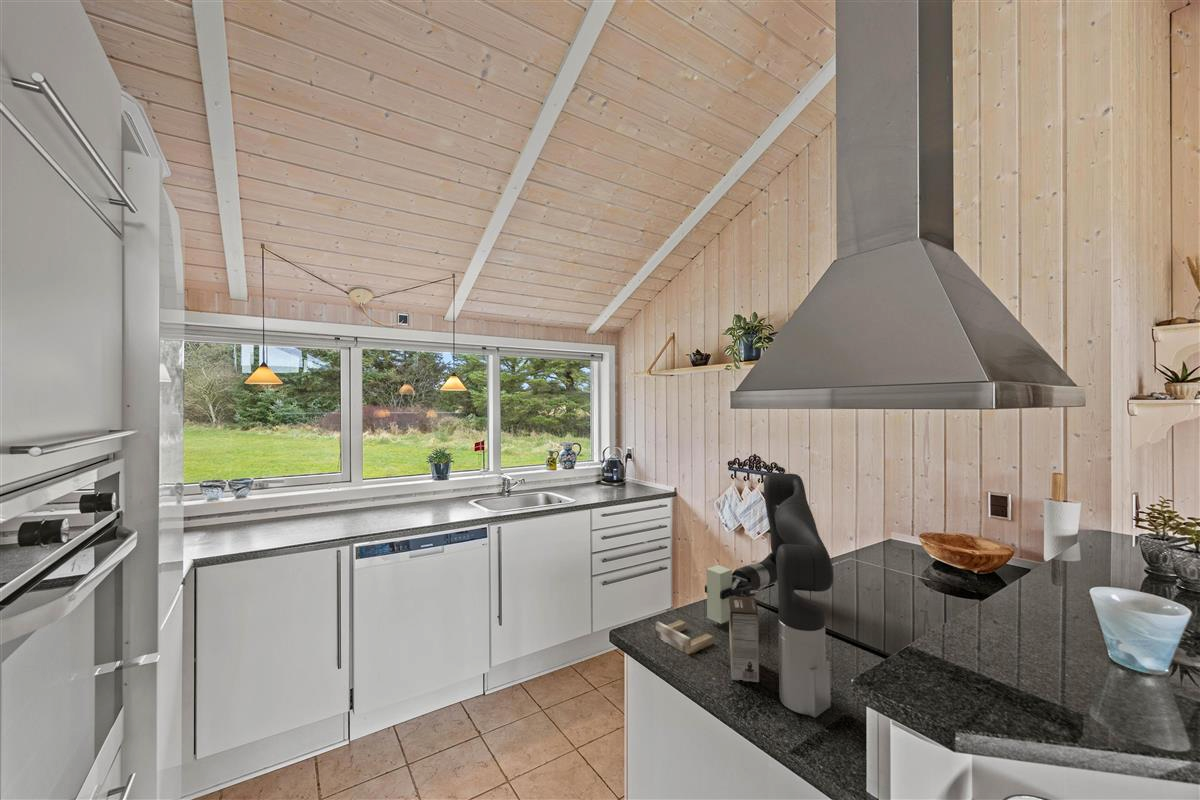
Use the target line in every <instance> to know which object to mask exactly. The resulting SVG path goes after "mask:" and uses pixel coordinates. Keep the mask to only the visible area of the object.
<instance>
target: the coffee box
mask: <svg viewBox="0 0 1200 800" xmlns="http://www.w3.org/2000/svg"><path fill="white" fill-rule="evenodd" d="M758 609H759V608H758V604H757V599H756V597H755V596H751V597H737V596H729V621H728V622H729V624H728V625H729V626H728V627H729V628H728V629H729V631H728V632H729V634H728V636H729V661H730V673H731V674H730V675H731V680H733V681H739V680H743V681H742V682H750V681H751V682H753V683H760V650H759V648H760V646H759V645H760V643H759V642H760V638H759V636H760V635H759V634H760V633H759V632H760V629H759V627H760V626H759V625H760V624H759V622H760V621H759V620H760V618H759V616H760V615H759V610H758ZM751 682H750V683H751Z"/></svg>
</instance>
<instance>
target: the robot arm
mask: <svg viewBox="0 0 1200 800" xmlns="http://www.w3.org/2000/svg"><path fill="white" fill-rule="evenodd" d="M803 481H804V480H803V479H802V477H801V476H800V475H799V474H796V473H769V474H766V475H765V476H764V480H763V496H764V503H765V510H766V515H767V520H768V524H769V525H768V526H769V532H770V533H769V534H770V551H771V552H770V553H769V554H768V555H767V556H766V557H765V558H763V560H761V561H759V562H757V563H750V564H748V565H744V566H742V567H739V568H737V569H735V570H734V571H732V587H731V588H728V589H725V590H722V591H721V592H720V599H722V600H723V599H726V598H729V596H736V597H755V596H756V592H758V591H761V590H762V589H764V588H765V587H768V586H770V585H772V584H774V583H776V582H777V591H778V592H777V593H778V594H777V595H778V598H777V599H778V611H777V612H778V614H777V616H778V617H777V618H778V683H779V684H778V688H779V690H778V691H779V692H778V693H779V700H780V702H781V704H782V705H784V706H785V707H786V708H787V709H789V710H791V711H792V712H795V713H797V714H801V715H807V716H810V717H813V718H817V717H819V716H820V715H821V714H822V713H824V712H825V711H826V710H828V709H830V708H831V662H830V661H829V660H827V659H826V658H827V657H826V655H827V654H826V614H825V612H824V611H825V610H823V608H822V607H821V606H820V605H818V604H817V603H815V602H812V601H810V600H808V599H805V598H804V597H802V596H800V595H798V594H797V592H795V591H804V592H815V593H816V592H818V593H821V592H826V591H829V590H830V588H831V587H832V586H833V582H834V567H833V562H832V560H831V557H830V554H829V552H828V550H827V548H826V546H825V544H824V542H823V540H822V538H821V537H820V535H819V531H818V528H817V524H816V522H815V517H814V516H813V513H812V510H811V507H810V506H809V503H808V499H807V494H806V489H805V485H804V482H803ZM704 593H705V594H707V584H705V585H704Z"/></svg>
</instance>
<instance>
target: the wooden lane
mask: <svg viewBox="0 0 1200 800" xmlns="http://www.w3.org/2000/svg"><path fill="white" fill-rule="evenodd" d="M685 630H686V622H685V621H683V620H681V619H679V620H676V621H674V622H672V623H671V622H670V623H669V624H667V625H666V624H664V623H663V622H660V621H659V620H658V621H655V637H656V638H657V639H659V640H660V639H661V641H662V640H663V641H662V642H664V643H666V644H667V643H668V644H667V645H670V646H671V647H672V648H674V649H677V650H678V651H680V652H682V653H683V652H684V654H685V655H688V656H690V655H692V654H694V653H697V652H699V651H701V650H703V649H705V648H706V647H707V648H708V647H709V646H712V645H713V644H714V636H713V635H711V634H709V633H705V634H702V635H700V636H698V637H696V638H693V639H691V637H690V636H687V635H685V634H683V633H682V632H683V631H685ZM700 649H701V650H700ZM698 650H699V651H698ZM691 653H692V654H691ZM689 654H690V655H689Z"/></svg>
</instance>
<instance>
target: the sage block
mask: <svg viewBox="0 0 1200 800" xmlns="http://www.w3.org/2000/svg"><path fill="white" fill-rule="evenodd" d="M732 573H733V569H731V568H728V567H725V566H722V565H719V564H717V565H713V566H711V567H708V568H706V585H707V593H706V614H707V616H706V617H707V619H709V620H711V621H714V622H716V623H718V624H720V625H722V624H724V623H726V622H729V598H726V599H723V600H722V599H720V592H721V591H722V590H725V589H728V588H731V587H732Z"/></svg>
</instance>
